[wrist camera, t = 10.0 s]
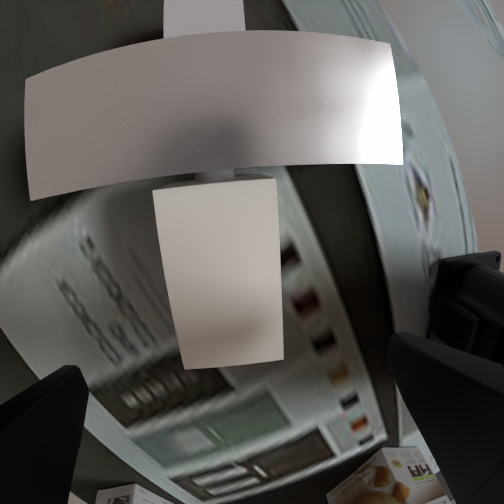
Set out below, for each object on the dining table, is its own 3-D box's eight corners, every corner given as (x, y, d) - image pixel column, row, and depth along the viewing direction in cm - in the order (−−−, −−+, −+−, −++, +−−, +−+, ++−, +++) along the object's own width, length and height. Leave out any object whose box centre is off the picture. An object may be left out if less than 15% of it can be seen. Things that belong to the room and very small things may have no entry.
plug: (247, 16, 11) (257, -27, 7) (269, 330, 16) (284, 377, 12) (163, 24, 11) (146, -16, 7) (194, 337, 15) (189, 387, 12)
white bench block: (328, 82, 13) (389, 43, 7) (334, 161, 14) (402, 164, 8) (93, 105, 12) (25, 79, 6) (99, 184, 13) (30, 200, 7)
